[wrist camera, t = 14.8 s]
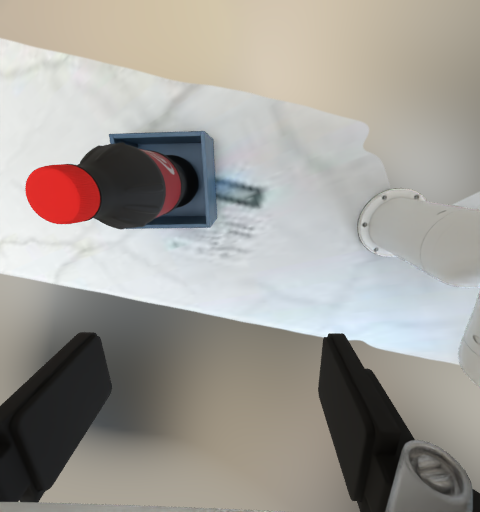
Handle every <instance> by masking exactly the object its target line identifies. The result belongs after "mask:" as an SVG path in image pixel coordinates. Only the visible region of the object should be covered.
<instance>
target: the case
mask: <svg viewBox="0 0 480 512" xmlns="http://www.w3.org/2000/svg"><path fill="white" fill-rule="evenodd" d="M109 137H110V143H111V144H117V143H121V142H122V143H125V144H126V145H130V146H133V147H136V148H138V149H142V150H152V151H156V152H159V153H162V154H164V155H175V156H179V157H181V158H183V159H185V160H186V161H188V162H189V163H190V164H191V165H192V167H193V168H194V170H195V172H196V174H197V178H198V189H197V192H196V195H195V196H194V198H193V199H192V200H191V201H190V202H189V203H188V204H186V205H184V206H182V207H178V208H175V209H174V210H172V211H171V212H169V213H167V214H165V215H162V216H159V217H157V218H155V219H153V220H152V221H151V222H149V223H147V224H146V225H145V226H143V227H136V228H125V229H139V228H206V227H207V228H208V227H211V226H212V224H213V223H214V222H215V220H216V219H217V204H216V185H215V166H214V147H213V139H212V138H211V137H210V136H209V135H208V134H207V133H206V132H205V131H190V132H158V133H127V134H109Z"/></svg>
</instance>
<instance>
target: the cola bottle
mask: <svg viewBox="0 0 480 512" xmlns="http://www.w3.org/2000/svg"><path fill="white" fill-rule="evenodd" d="M26 182H27V183H26V186H25V187H26V188H25V189H26V196H27V199H28V202H29V203H30V205H31V207H32V208H33V210H34V211H35V212H36V213H37V214H38V215H39V216H40V217H42V218H43V219H45V220H47V221H49V222H52V223H56V224H71V223H77V222H82V221H87V220H90V219H92V218H95V219H97V220H99V221H100V222H102V223H104V224H106V225H108V226H111V227H114V228H118V229H124V228H136V227H143V226H145V225H146V224H147V223H149V222H151V221H152V220H153V219H155V218H157V217H159V216H162V215H165V214H167V213H169V212H171V211H172V210H174V209H175V208H178V207H182V206H184V205H186V204H188V203H189V202H190V201H191V200H192V199H193V198H194V196H195V195H196V192H197V189H198V178H197V174H196V172H195V170H194V168H193V167H192V165H191V164H190V163H189V162H188V161H186V160H185V159H183V158H181V157H179V156H175V155H164V154H162V153H159V152H156V151H152V150H142V149H138V148H136V147H133V146H130V145H126V144H125V143H122V142H121V143H117V144H109V145H105V146H97V147H95V148H94V149H92V150H91V151H90V152H88V153H87V154H86V155H85V156H84V158H83V159H82V160H81V162H80V164H78V165H73V164H64V165H49V166H44V167H41V168H38V169H36V170H34V171H33V172H32V173H31V174H30V175H29V177H28V179H27V181H26Z"/></svg>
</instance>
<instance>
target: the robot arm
mask: <svg viewBox="0 0 480 512" xmlns="http://www.w3.org/2000/svg"><path fill="white" fill-rule="evenodd" d="M382 196H383V198H382ZM414 196H415V197H414ZM363 223H364V224H363ZM362 224H363V225H362ZM358 233H359V238H360V240H361V242H362V243H363V245H364V246H365V247H366V248H367V249H368V250H369V251H371V252H372V253H374V254H377V255H379V256H384V257H394V256H397V257H399V258H400V259H402V260H404V261H406V262H407V263H409V264H411V265H413V266H414V267H416V268H418V269H420V270H421V271H423V272H425V273H427V274H428V275H430V276H432V277H434V278H436V279H438V280H439V281H441V282H444V283H446V284H449V285H452V286H456V287H464V288H478V287H480V210H478V209H471V208H465V207H458V206H452V205H446V204H439V203H433V202H428V201H427V200H426V198H425V197H423V196H422V195H421V194H420V193H418V192H416V191H414V190H410V189H404V188H395V189H390V190H387V191H384V192H382V193H380V194H379V195H377V196H375V197H374V198H373V199H372V200H371V201H370V202H369V203H368V204H367V205H366V206H365V208H364V209H363V211H362V213H361V216H360V218H359V223H358ZM374 248H375V249H374ZM458 359H459V363H460V366H461V368H462V370H463V371H464V373H465V374H466V375H467V376H468V378H470V380H471V381H472V382H473V383H475V384H476V385H477V386H478V387H479V388H480V292H479V295H478V297H477V302H476V304H475V307H474V309H473V312H472V314H471V317H470V319H469V322H468V324H467V327H466V329H465V332H464V335H463V338H462V340H461V343H460V347H459V351H458ZM111 389H112V384H111V380H110V376H109V372H108V368H107V364H106V359H105V355H104V351H103V347H102V342H101V339H100V337H99V336H97V334H96V333H90V332H89V333H86V332H82V333H78V334H77V335H76V336H75V337H74V338H73V339H72V340H71V341H70V342H69V343H67V344H66V345H65V346H64V347H63V348H62V349H61V350H60V351H59V352H58V353H57V354H56V355H55V356H53V357H52V358H51V359H50V360H49V361H48V362H47V363H46V364H45V365H44V366H43V367H42V368H41V369H39V370H38V371H37V372H36V373H35V374H34V375H33V376H32V377H31V378H30V379H29V380H28V381H27V382H26V383H25V384H23V385H22V386H21V387H20V388H19V389H18V390H17V391H16V392H15V393H14V394H13V395H12V396H11V397H10V398H9V399H7V400H6V401H5V402H4V403H3V404H2V405H1V406H0V512H283V511H259V510H237V509H212V508H187V507H161V506H133V505H132V506H131V505H104V504H101V505H100V504H70V503H68V504H67V503H38V502H39V500H40V498H41V497H42V495H43V493H44V492H45V491H46V490H48V489H50V488H51V487H52V485H53V484H54V482H55V481H56V479H57V478H58V476H59V474H60V473H61V471H62V470H63V468H64V467H65V465H66V463H67V462H68V460H69V458H70V457H71V455H72V454H73V452H74V451H75V449H76V448H77V446H78V444H79V443H80V441H81V440H82V438H83V436H84V435H85V433H86V432H87V430H88V429H89V427H90V425H91V424H92V422H93V421H94V419H95V417H96V416H97V414H98V413H99V411H100V410H101V408H102V406H103V405H104V403H105V401H106V400H107V398H108V397H109V395H110V393H111ZM318 392H319V398H320V401H321V404H322V408H323V411H324V414H325V417H326V421H327V424H328V427H329V431H330V434H331V437H332V440H333V444H334V446H335V450H336V453H337V457H338V460H339V463H340V466H341V469H342V473H343V476H344V479H345V482H346V486H347V489H348V492H349V495H350V498H351V500H352V501H357V503H358V506H359V509H360V512H480V493H478V492H477V491H475V490H473V489H472V485H471V481H470V479H469V477H468V475H467V473H466V471H465V470H464V469H463V468H462V467H461V465H460V464H459V463H458V462H457V461H456V460H455V459H454V458H453V457H452V456H451V455H450V454H449V453H447V452H446V451H444V450H443V449H441V448H440V447H438V446H436V445H434V444H431V443H429V442H425V441H421V440H415V439H414V438H413V436H412V434H411V433H410V431H409V430H408V428H407V426H406V425H405V423H404V422H403V420H402V418H401V417H400V415H399V413H398V412H397V410H396V408H395V407H394V405H393V404H392V402H391V400H390V399H389V397H388V396H387V394H386V392H385V391H384V389H383V387H382V386H381V384H380V383H379V381H378V379H377V378H376V376H375V375H374V373H373V372H372V370H370V369H364V367H363V365H362V364H361V362H360V360H359V358H358V357H357V355H356V353H355V352H354V350H353V348H352V347H351V345H350V343H349V341H348V340H347V338H346V336H345V335H344V334H328V337H324V339H323V347H322V357H321V367H320V377H319V387H318ZM19 500H20V502H18V501H19Z"/></svg>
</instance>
